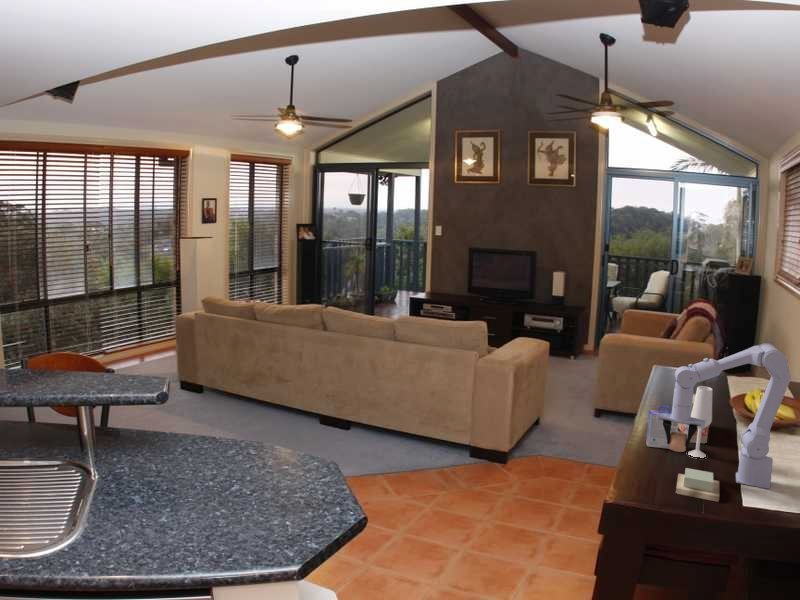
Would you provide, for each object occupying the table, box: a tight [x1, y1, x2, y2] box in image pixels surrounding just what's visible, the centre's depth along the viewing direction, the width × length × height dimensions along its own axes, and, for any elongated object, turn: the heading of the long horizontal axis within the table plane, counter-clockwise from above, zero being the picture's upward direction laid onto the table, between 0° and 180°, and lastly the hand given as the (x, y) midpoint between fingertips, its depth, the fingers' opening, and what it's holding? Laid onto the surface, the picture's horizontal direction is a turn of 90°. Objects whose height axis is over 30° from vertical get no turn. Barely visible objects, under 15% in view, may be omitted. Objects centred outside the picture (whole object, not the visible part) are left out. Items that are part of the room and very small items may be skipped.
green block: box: [684, 467, 714, 492], centre depth 223 cm, size 8×8×3 cm
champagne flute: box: [687, 385, 713, 458], centre depth 249 cm, size 7×7×24 cm
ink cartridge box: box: [645, 404, 679, 450], centre depth 257 cm, size 10×6×14 cm, turn 79°
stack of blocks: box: [678, 393, 711, 444], centre depth 271 cm, size 21×6×12 cm, turn 173°
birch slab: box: [675, 473, 720, 503], centre depth 223 cm, size 12×12×2 cm
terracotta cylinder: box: [669, 430, 687, 453], centre depth 234 cm, size 5×5×5 cm
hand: (677, 444), depth 234 cm, fingers closed on terracotta cylinder, 5 cm apart
